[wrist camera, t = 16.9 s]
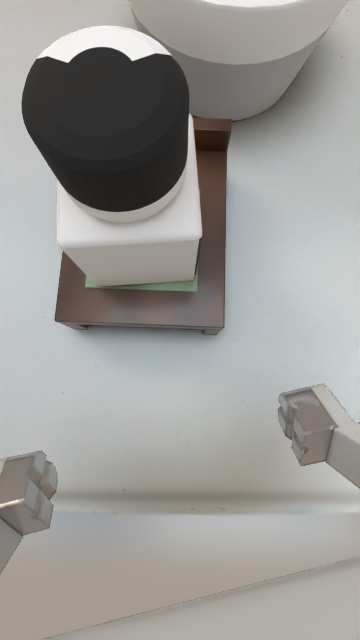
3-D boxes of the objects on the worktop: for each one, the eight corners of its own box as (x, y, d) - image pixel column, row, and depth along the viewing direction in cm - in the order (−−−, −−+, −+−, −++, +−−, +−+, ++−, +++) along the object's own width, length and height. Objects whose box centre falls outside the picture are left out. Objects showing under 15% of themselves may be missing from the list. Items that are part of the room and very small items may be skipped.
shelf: (74, 329, 25) (40, 315, 19) (90, 169, 27) (66, 113, 22) (217, 334, 25) (229, 323, 19) (220, 173, 27) (231, 118, 21)
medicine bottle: (196, 281, 21) (215, 166, 9) (95, 288, 21) (-13, 180, 9) (188, 191, 22) (198, -13, 11) (94, 196, 22) (-3, -2, 10)
